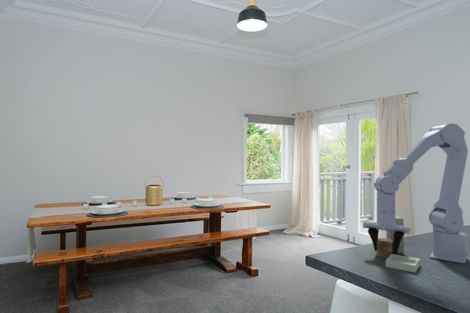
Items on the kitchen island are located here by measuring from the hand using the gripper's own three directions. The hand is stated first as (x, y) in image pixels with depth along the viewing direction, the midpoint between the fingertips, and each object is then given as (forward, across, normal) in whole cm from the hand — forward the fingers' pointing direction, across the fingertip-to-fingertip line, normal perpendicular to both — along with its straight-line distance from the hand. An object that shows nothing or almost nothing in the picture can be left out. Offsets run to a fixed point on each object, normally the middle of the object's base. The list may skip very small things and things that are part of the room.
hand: (385, 251), depth 108 cm
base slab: (+1, +6, -8) cm, 10 cm away
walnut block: (+2, 0, 0) cm, 2 cm away
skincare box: (+2, +1, +8) cm, 9 cm away
